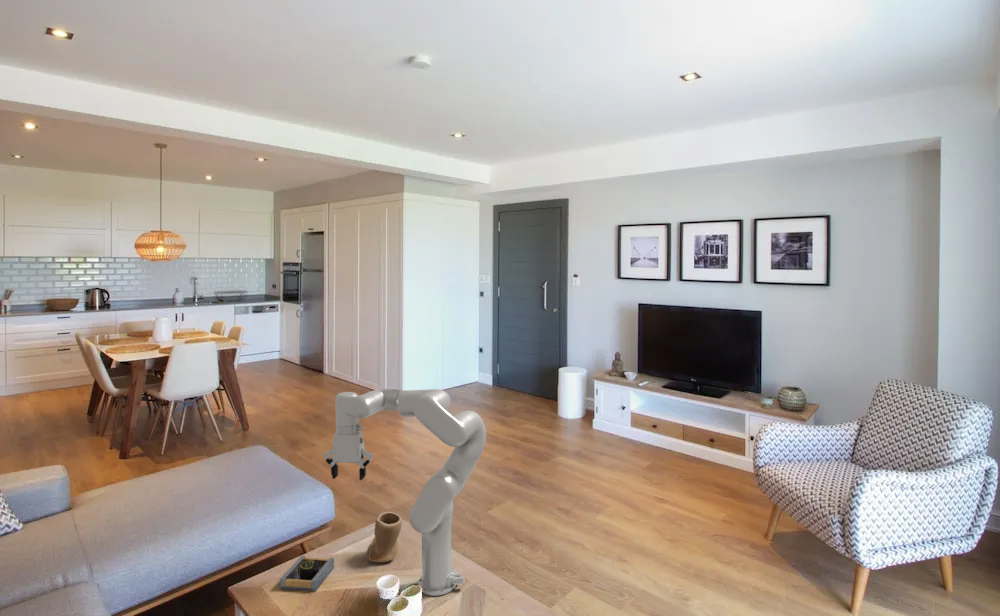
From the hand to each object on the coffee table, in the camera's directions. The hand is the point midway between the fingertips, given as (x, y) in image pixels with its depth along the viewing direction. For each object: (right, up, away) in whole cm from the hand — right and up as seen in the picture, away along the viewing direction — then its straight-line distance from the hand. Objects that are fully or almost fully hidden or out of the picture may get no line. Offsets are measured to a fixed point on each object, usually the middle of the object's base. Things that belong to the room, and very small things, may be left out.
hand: (348, 477), depth 185 cm
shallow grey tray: (-13, -33, -3) cm, 35 cm away
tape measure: (-12, -32, -3) cm, 34 cm away
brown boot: (+10, -32, +12) cm, 36 cm away
